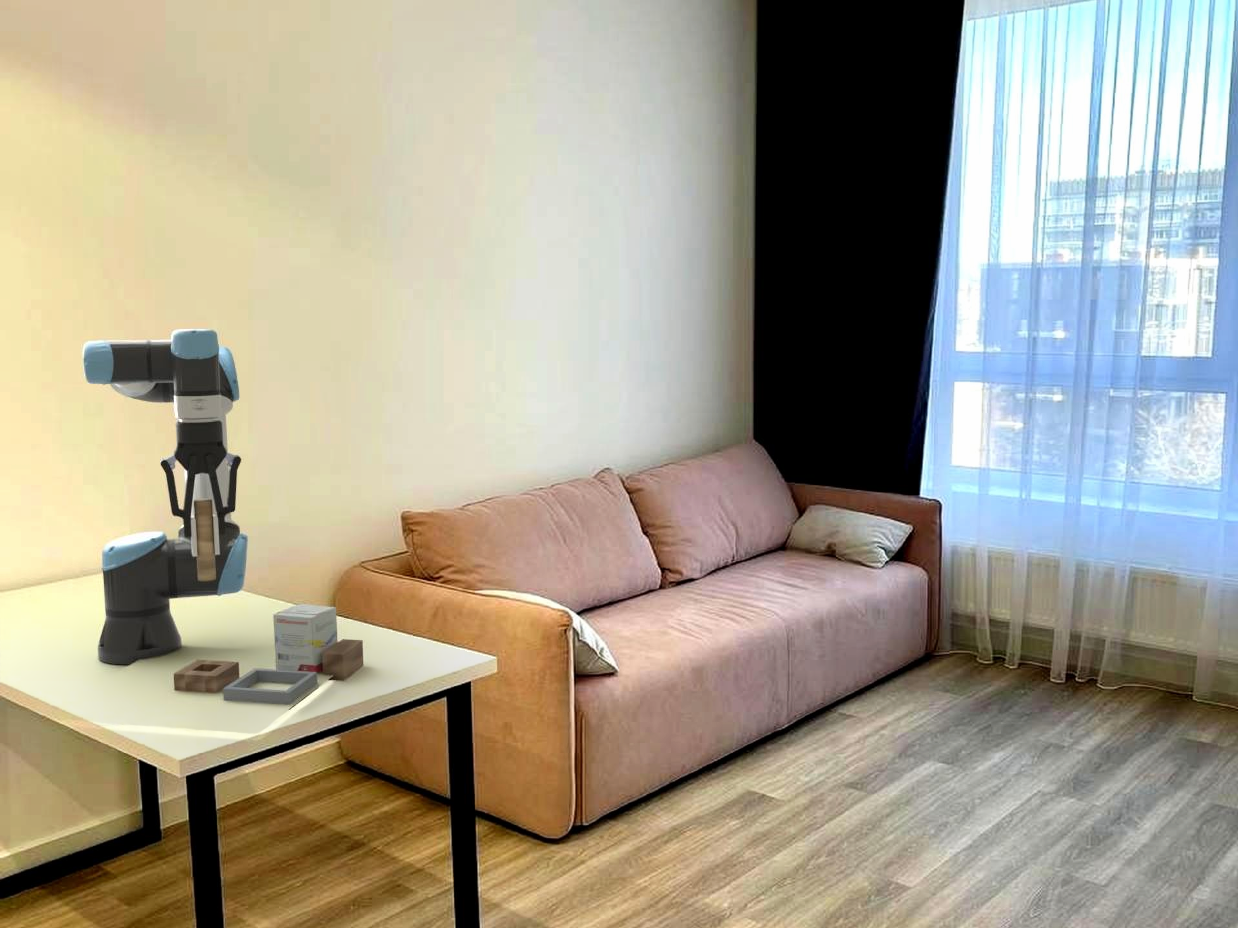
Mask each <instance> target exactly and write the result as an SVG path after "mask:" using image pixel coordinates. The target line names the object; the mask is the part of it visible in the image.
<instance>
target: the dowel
mask: <svg viewBox="0 0 1238 928" xmlns="http://www.w3.org/2000/svg"><path fill="white" fill-rule="evenodd" d="M194 516H195V519H196V537H197V573H198V581H212V580H215V579H216V568H215V549H214V530H213V508H212V499H197V500H194Z"/></svg>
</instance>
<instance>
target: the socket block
mask: <svg viewBox="0 0 1238 928" xmlns="http://www.w3.org/2000/svg"><path fill="white" fill-rule="evenodd" d="M240 677H241V676H240V662H239V661H228V660H211V659H196V660H195V661H193V662H192V663H190V664H188V665H186V666H184V667H183V668H181V669H179V670H177V671H176V672H173V689H174V691H177V692H178V691H179V692H180V691H181V692H193V693H209V694H218V693H219V692H221V691H223V688H225V687H226V686H228V685H229V684H231V683H232V682H234V681H236V680H237V679H239V678H240Z"/></svg>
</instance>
